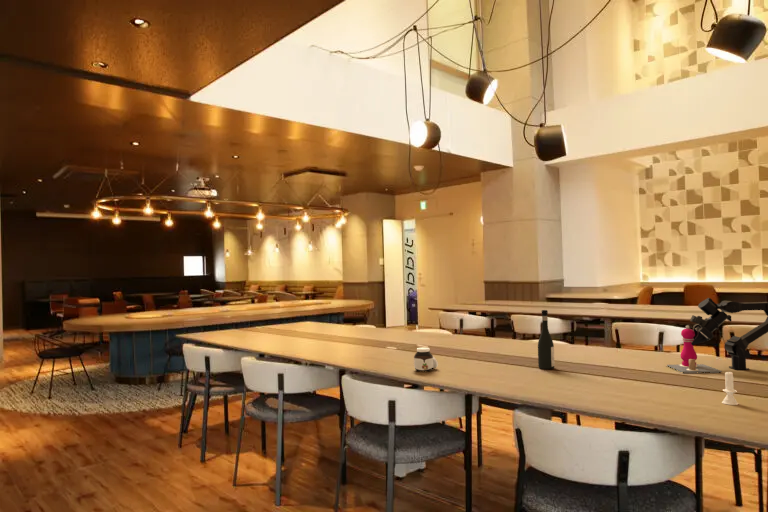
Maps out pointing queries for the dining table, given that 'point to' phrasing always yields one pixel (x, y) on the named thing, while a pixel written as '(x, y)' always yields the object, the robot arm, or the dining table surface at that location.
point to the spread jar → (424, 360)
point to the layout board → (700, 367)
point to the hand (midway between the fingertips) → (690, 343)
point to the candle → (729, 389)
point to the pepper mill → (688, 346)
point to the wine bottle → (545, 345)
